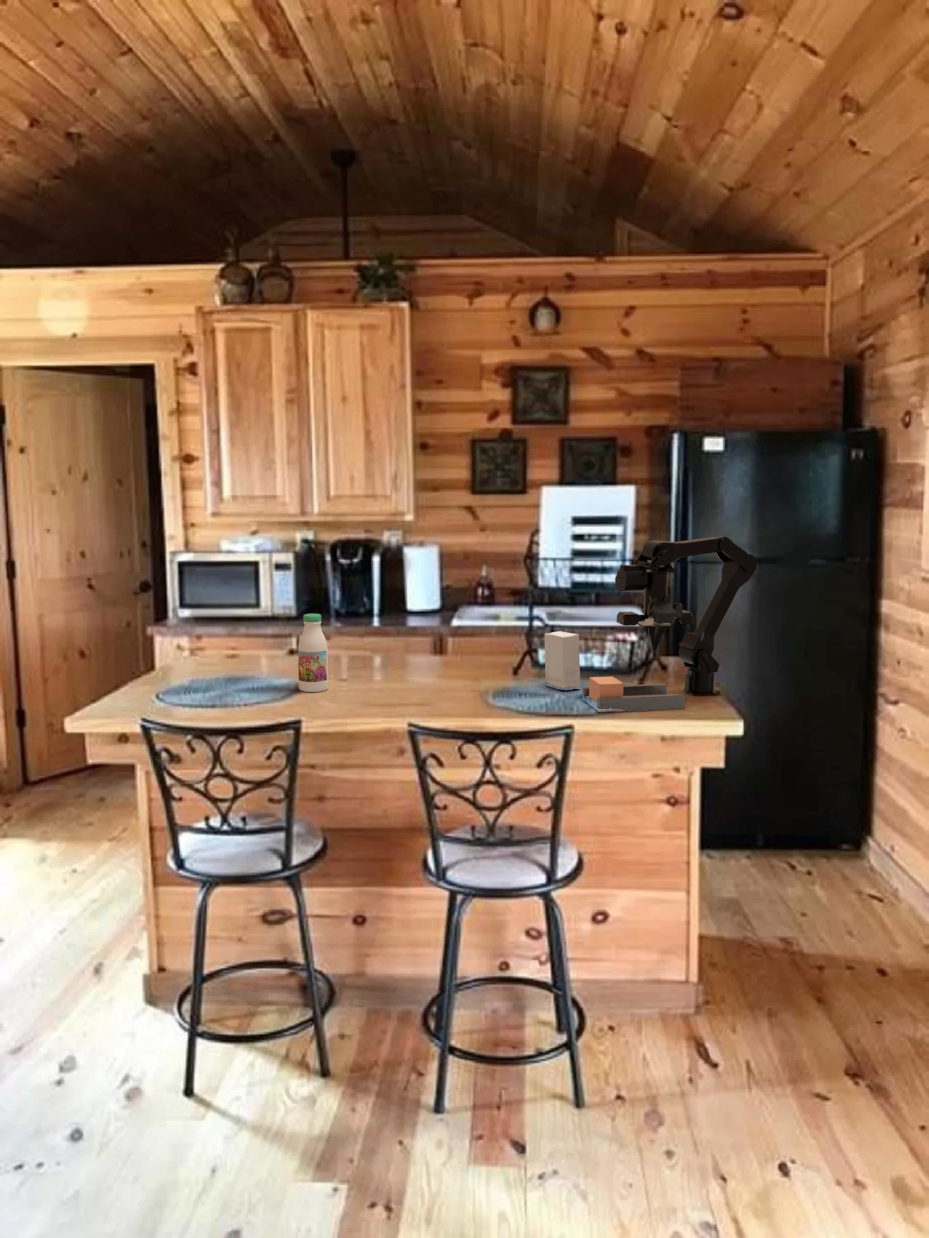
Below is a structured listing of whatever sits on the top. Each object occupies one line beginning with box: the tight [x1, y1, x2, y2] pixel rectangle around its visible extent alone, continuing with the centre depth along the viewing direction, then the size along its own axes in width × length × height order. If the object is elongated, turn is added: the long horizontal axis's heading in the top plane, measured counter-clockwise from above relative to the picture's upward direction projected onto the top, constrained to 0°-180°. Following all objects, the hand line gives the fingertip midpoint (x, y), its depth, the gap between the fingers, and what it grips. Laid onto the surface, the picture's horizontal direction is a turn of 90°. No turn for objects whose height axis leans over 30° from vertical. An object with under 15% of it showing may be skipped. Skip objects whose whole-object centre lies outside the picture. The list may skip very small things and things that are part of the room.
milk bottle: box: [297, 613, 329, 693], centre depth 272 cm, size 8×8×20 cm
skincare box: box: [544, 630, 581, 688], centre depth 276 cm, size 8×6×15 cm
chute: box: [581, 683, 686, 713], centre depth 259 cm, size 22×13×4 cm, turn 102°
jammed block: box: [588, 676, 624, 702], centre depth 257 cm, size 6×8×5 cm
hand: (653, 651), depth 265 cm, fingers closed
